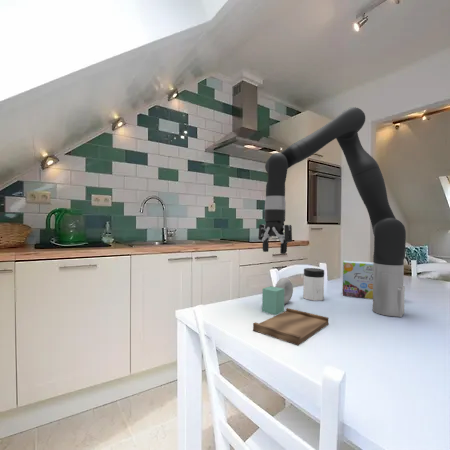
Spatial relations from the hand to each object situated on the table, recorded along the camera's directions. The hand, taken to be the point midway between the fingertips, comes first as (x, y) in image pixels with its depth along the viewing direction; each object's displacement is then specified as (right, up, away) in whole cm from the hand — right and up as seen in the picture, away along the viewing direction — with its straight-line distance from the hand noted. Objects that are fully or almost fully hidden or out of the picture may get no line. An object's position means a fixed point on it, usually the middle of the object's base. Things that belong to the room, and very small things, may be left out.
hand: (274, 252), depth 100 cm
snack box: (+44, -21, +15) cm, 51 cm away
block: (-1, -20, -5) cm, 21 cm away
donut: (+5, -20, +4) cm, 21 cm away
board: (+2, -20, -20) cm, 28 cm away
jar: (+19, -21, +13) cm, 31 cm away
